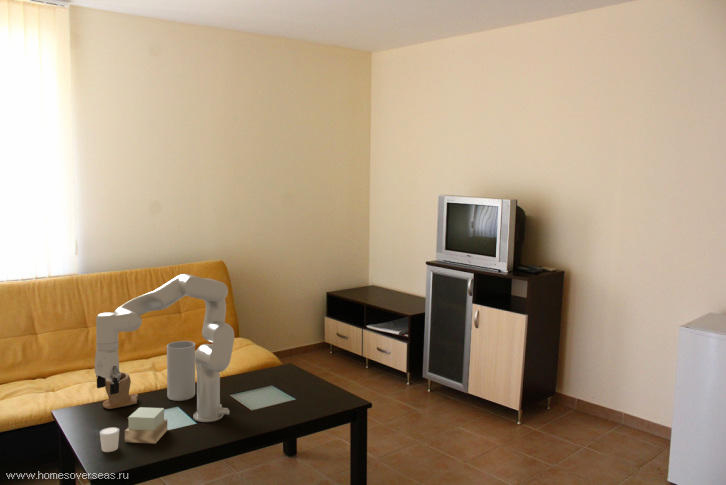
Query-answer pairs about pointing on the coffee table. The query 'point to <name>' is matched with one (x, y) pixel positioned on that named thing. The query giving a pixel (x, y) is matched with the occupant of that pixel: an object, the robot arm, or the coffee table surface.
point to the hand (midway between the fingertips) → (107, 390)
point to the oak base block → (146, 434)
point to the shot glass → (109, 439)
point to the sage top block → (146, 418)
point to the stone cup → (120, 393)
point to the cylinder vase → (180, 370)
